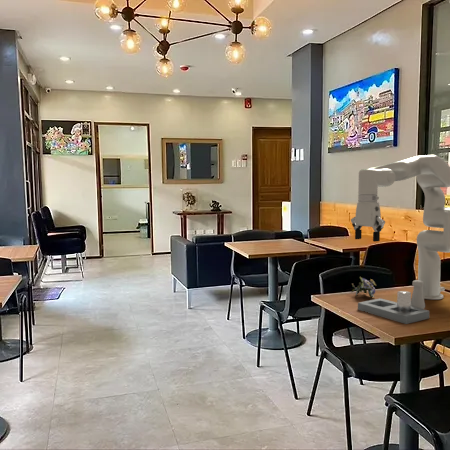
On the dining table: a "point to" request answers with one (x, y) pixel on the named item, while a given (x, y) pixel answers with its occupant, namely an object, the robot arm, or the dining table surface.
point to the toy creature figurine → (365, 287)
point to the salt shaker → (418, 295)
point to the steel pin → (404, 302)
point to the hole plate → (392, 311)
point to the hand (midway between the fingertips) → (367, 240)
